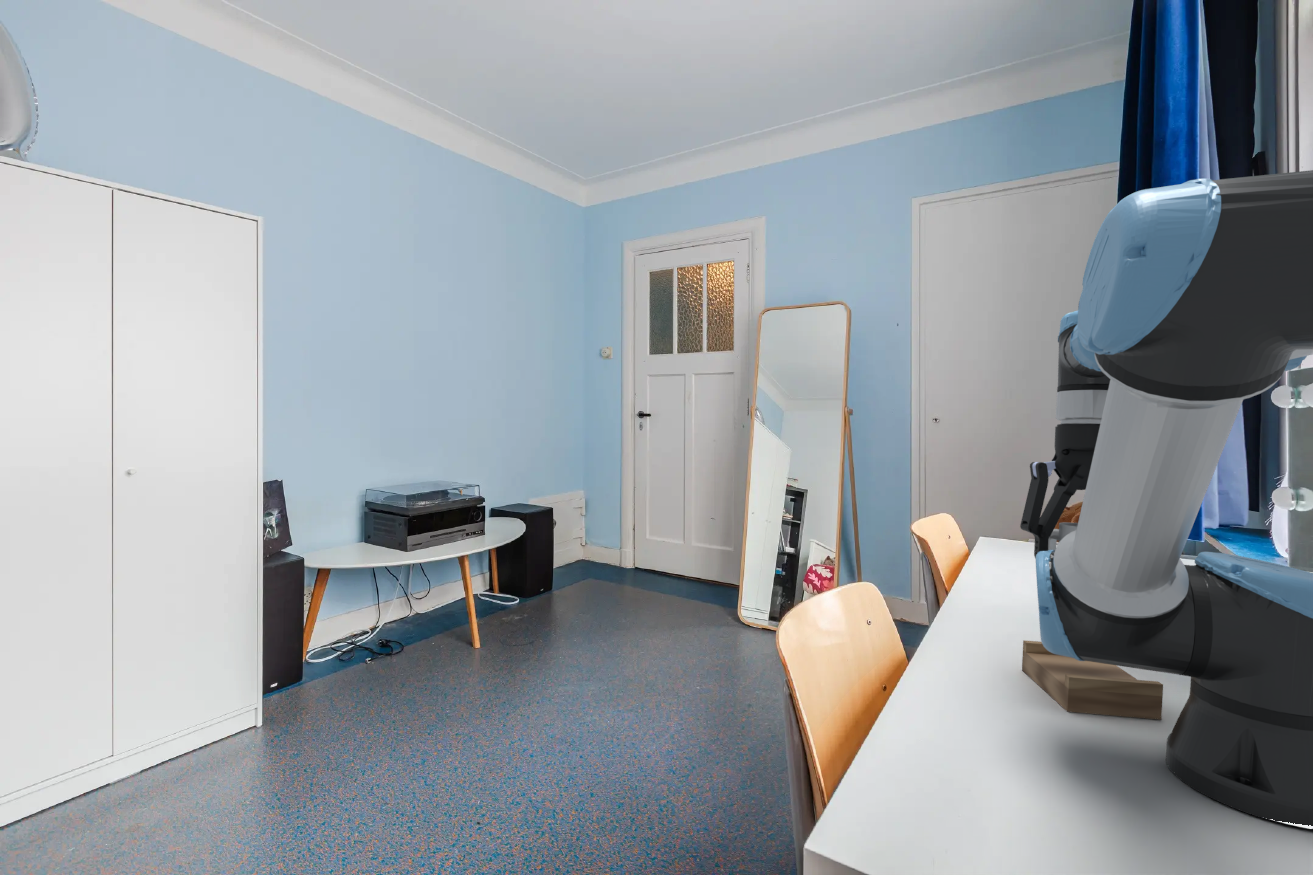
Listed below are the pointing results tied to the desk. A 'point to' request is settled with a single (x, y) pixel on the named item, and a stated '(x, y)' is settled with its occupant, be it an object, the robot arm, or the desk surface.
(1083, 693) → the wooden tray
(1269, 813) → the robot arm
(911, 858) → the desk surface
